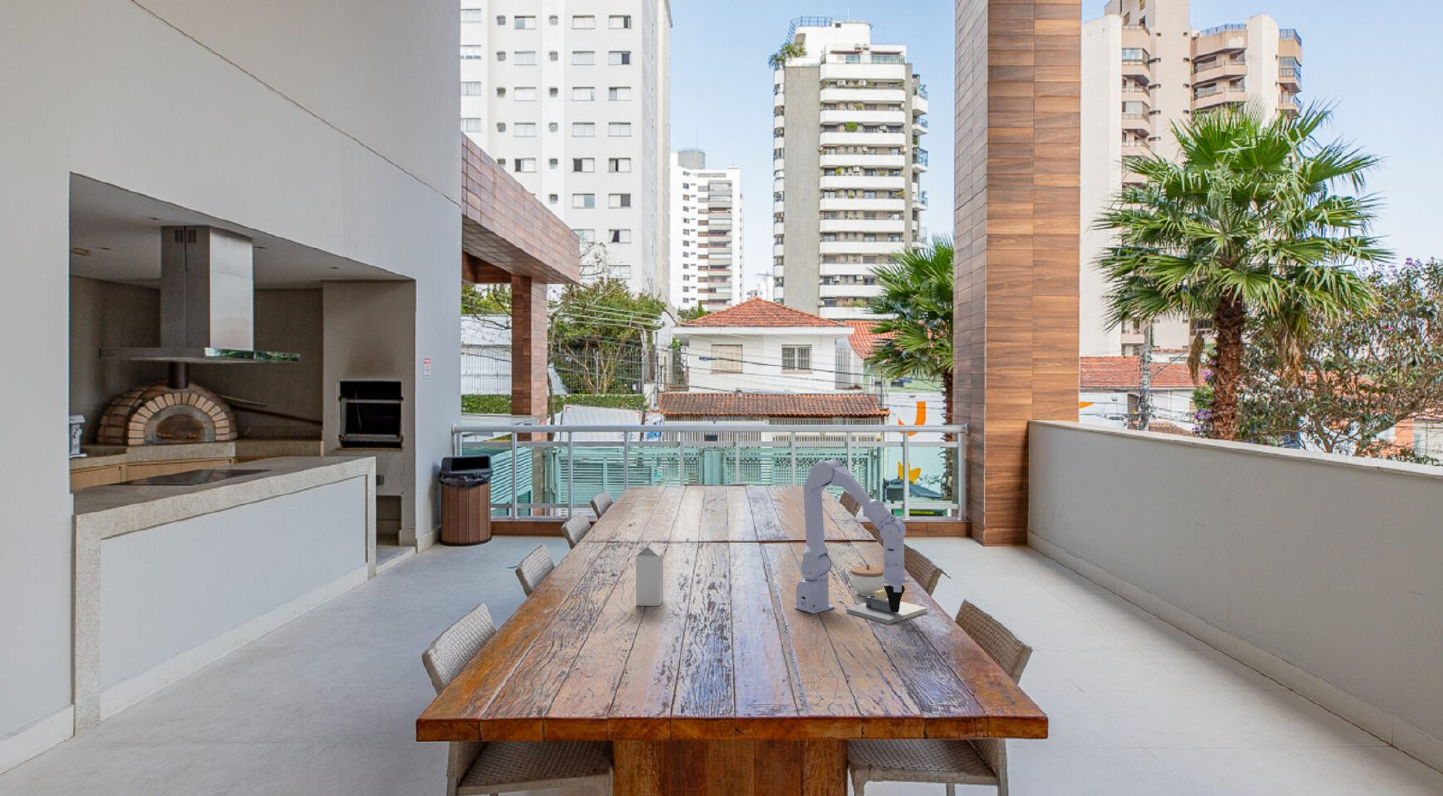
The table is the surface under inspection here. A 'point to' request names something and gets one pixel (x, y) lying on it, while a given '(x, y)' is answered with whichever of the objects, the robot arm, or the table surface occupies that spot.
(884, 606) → the swing bar
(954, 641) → the table surface
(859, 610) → the door board
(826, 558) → the robot arm
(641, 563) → the milk carton
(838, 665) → the table surface
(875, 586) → the lidded jar
